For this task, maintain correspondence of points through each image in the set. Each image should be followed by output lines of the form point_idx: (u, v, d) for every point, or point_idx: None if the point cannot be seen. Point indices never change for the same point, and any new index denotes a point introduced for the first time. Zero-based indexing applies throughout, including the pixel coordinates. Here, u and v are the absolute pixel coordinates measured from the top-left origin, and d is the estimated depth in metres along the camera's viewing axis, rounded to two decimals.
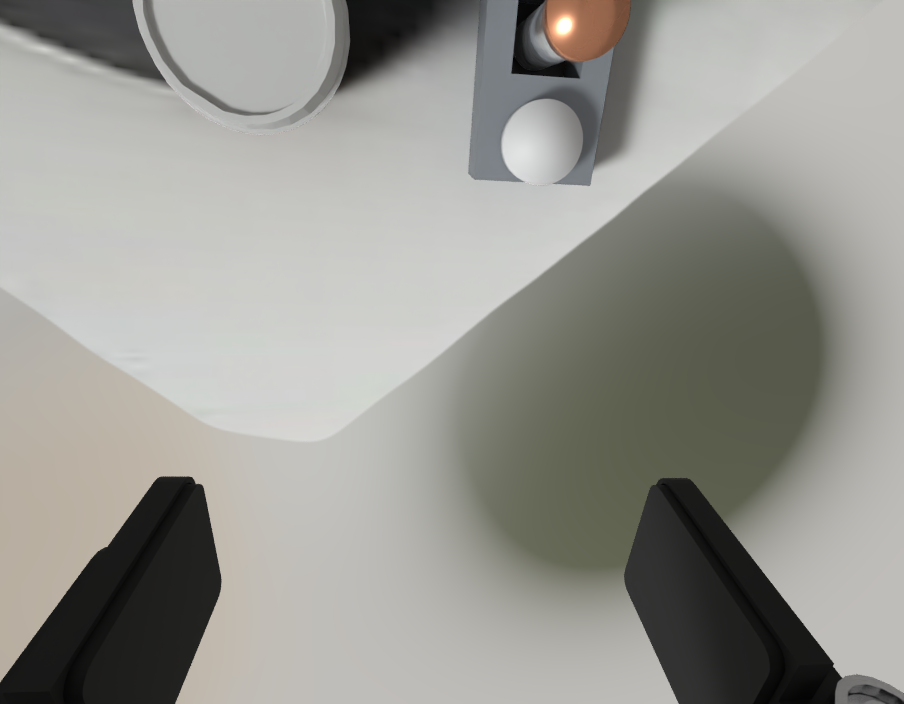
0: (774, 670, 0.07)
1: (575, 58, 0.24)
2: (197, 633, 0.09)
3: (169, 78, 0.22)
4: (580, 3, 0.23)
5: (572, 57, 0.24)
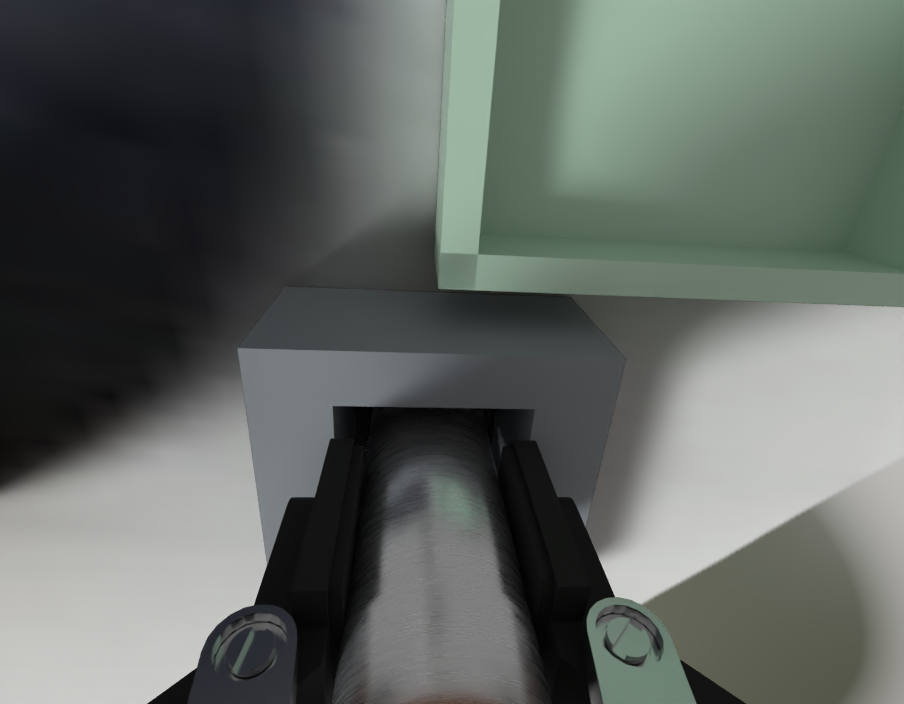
0: (546, 594, 0.08)
1: None
2: None
3: None
4: None
5: None
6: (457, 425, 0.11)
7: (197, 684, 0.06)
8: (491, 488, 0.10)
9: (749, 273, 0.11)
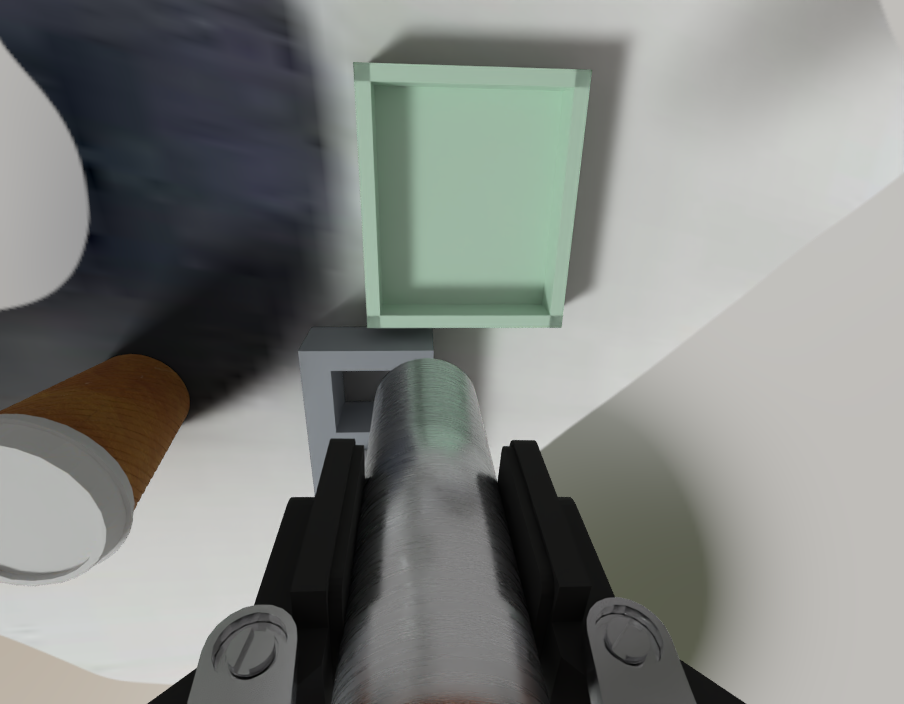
0: (547, 594, 0.08)
1: None
2: None
3: None
4: None
5: None
6: (456, 428, 0.11)
7: (196, 684, 0.06)
8: (490, 492, 0.10)
9: (482, 317, 0.30)
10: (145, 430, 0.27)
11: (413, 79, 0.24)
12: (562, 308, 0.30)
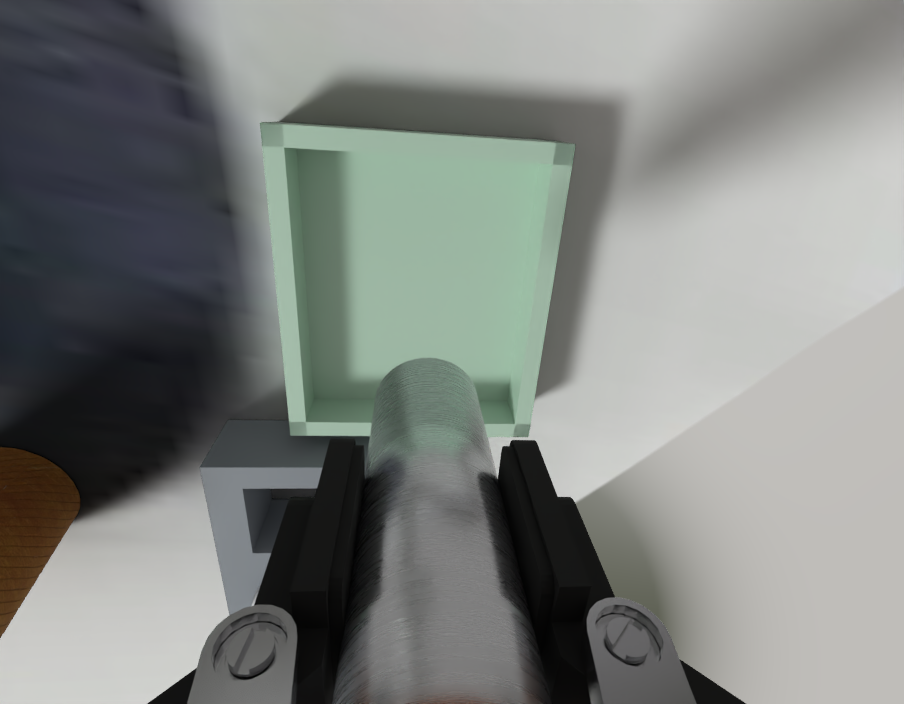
0: (546, 594, 0.08)
1: None
2: None
3: None
4: None
5: None
6: (457, 428, 0.11)
7: (196, 685, 0.06)
8: (491, 492, 0.10)
9: None
10: None
11: (342, 147, 0.18)
12: (530, 416, 0.25)
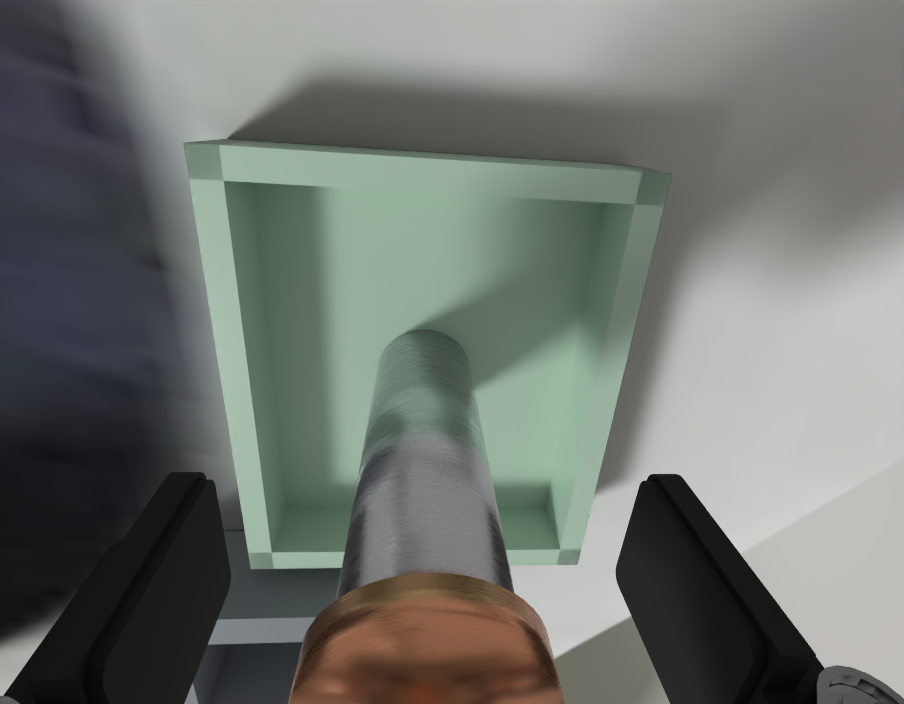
0: (758, 661, 0.07)
1: None
2: (208, 627, 0.09)
3: None
4: None
5: None
6: (447, 385, 0.13)
7: None
8: (474, 436, 0.12)
9: None
10: None
11: (313, 180, 0.12)
12: (581, 540, 0.18)
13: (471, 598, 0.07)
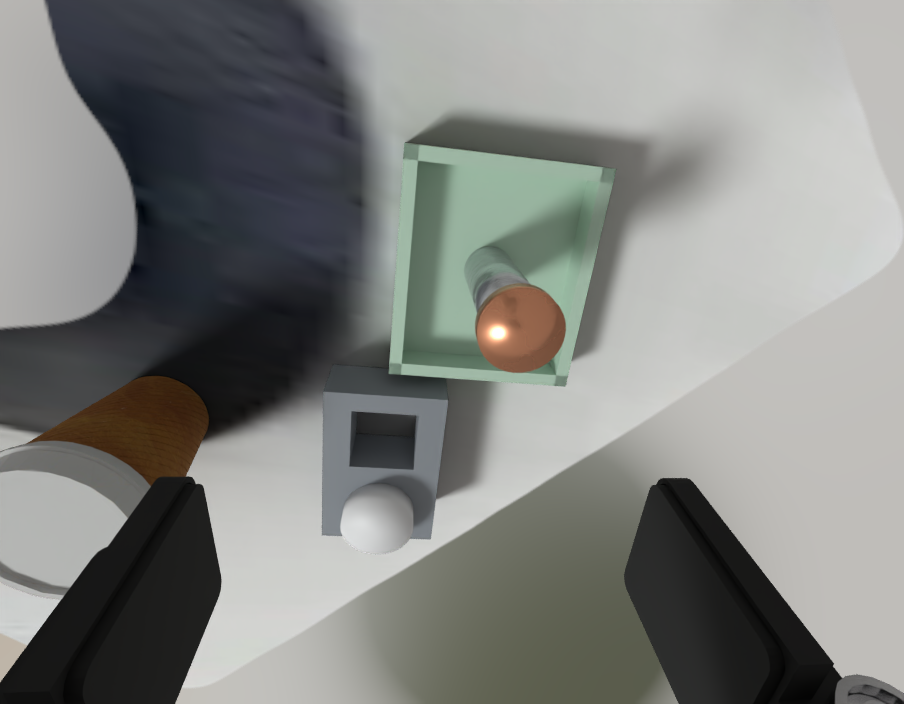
0: (774, 670, 0.07)
1: (507, 371, 0.22)
2: (197, 633, 0.09)
3: None
4: (512, 325, 0.21)
5: (504, 370, 0.22)
6: (510, 261, 0.28)
7: None
8: None
9: (495, 372, 0.32)
10: (175, 456, 0.29)
11: (456, 162, 0.27)
12: (568, 370, 0.33)
13: (538, 288, 0.22)
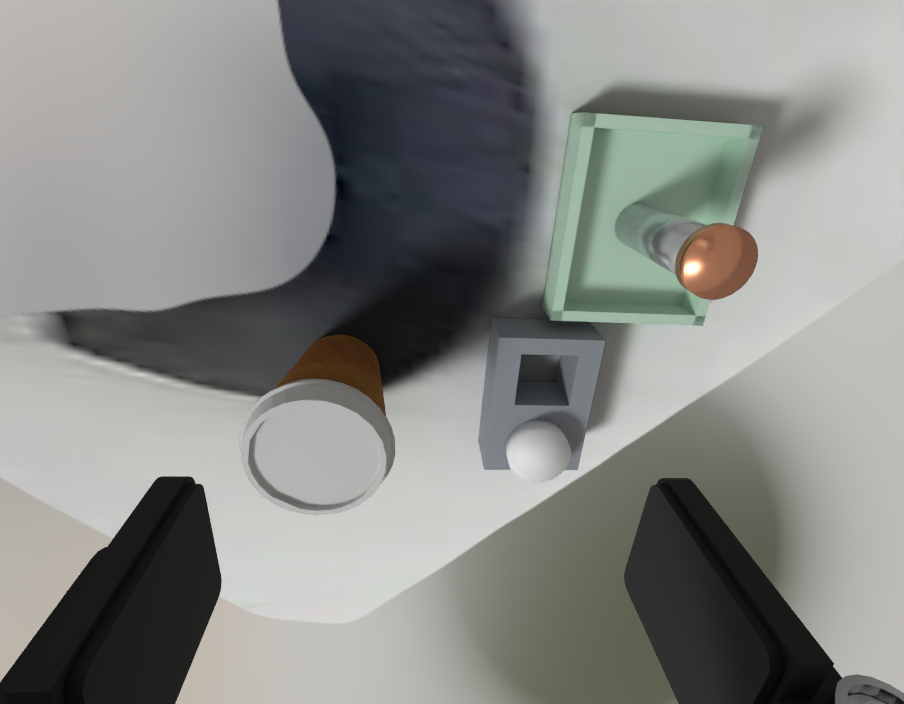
0: (774, 670, 0.07)
1: (704, 298, 0.27)
2: (197, 633, 0.09)
3: (263, 494, 0.30)
4: (714, 258, 0.26)
5: (702, 297, 0.27)
6: (671, 212, 0.32)
7: None
8: None
9: (642, 315, 0.37)
10: (382, 396, 0.34)
11: (627, 127, 0.31)
12: (706, 310, 0.37)
13: None
